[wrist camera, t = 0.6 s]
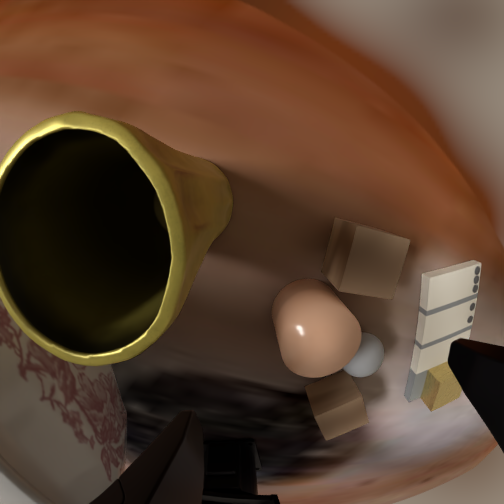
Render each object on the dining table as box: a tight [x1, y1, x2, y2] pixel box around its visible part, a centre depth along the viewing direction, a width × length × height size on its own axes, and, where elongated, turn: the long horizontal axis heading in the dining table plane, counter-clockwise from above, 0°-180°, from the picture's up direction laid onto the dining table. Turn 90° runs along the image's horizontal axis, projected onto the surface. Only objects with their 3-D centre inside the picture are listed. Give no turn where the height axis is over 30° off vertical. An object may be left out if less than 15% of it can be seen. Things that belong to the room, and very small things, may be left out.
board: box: [404, 260, 481, 402], centre depth 21 cm, size 14×7×1 cm, turn 8°
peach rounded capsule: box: [272, 279, 361, 378], centre depth 18 cm, size 5×5×5 cm
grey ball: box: [343, 332, 384, 377], centre depth 19 cm, size 4×4×4 cm
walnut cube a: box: [305, 370, 369, 441], centre depth 21 cm, size 4×4×4 cm
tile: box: [420, 361, 462, 411], centre depth 21 cm, size 4×4×2 cm
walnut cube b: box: [321, 217, 410, 300], centre depth 18 cm, size 4×4×4 cm
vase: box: [0, 111, 233, 366], centre depth 11 cm, size 6×6×14 cm
